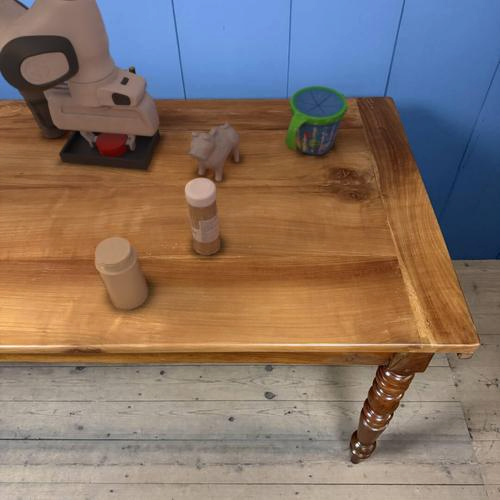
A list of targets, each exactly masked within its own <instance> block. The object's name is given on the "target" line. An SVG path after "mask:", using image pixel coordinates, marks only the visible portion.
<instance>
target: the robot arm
mask: <svg viewBox="0 0 500 500" xmlns="http://www.w3.org/2000/svg"><path fill="white" fill-rule="evenodd" d="M124 69H125V68H121V67H119V66H117V65H116V62H115V60H114V58H113V56H112V55H111V52H110V38H109V35H108V31H107V27H106V24H105V21H104V19H103V14H102V12H101V10H100V7H99V6H98V3H97V1H96V0H34V2H33V3H32V4H31V6H29V7H28V6H27V5H26V4H25V3H23V2H21V0H0V74H1V76H2V78H3V79H4V81H6V83H7V84H8V85H9V86H11V87H13V88H14V89H16V90H17V91H18V90H20V91H23V92H27V93H39V92H43V93H44V95H45V97H46V99H47V101H48V106H49V111H50V114H51V118H52V121H53V123H54V125H55V126H56V127H58V128H59V129H64V130H66V131H74V130H77V131H80V134H81V135H82V136H83V137H84V138H85V139H86V140H88V141H89V143H90V146H91V147H93V148H97V145H96V139H97V137H98V136H95V135H94V134H93V133H92V132H102V133H115V134H127V136H128V138H131V139H127V142H126V143H125V147H126V150H129V151H134V150H135V148H136V143H135V138H136V136H137V135H140V136H153V135H154V134H155V133H156V131H157V129H159V127H160V118H159V113H158V109H157V107H156V106H157V105H156V103H155V100H154V98H153V96H152V95H151V94H150V93H149V92H148V91H147V88H148V87H147V86H148V82H147V79H146V78H145V77H144V76H142V75H139V74H137V73H136V74H134V73H131V72H129V70H127V71H126V70H124Z"/></svg>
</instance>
